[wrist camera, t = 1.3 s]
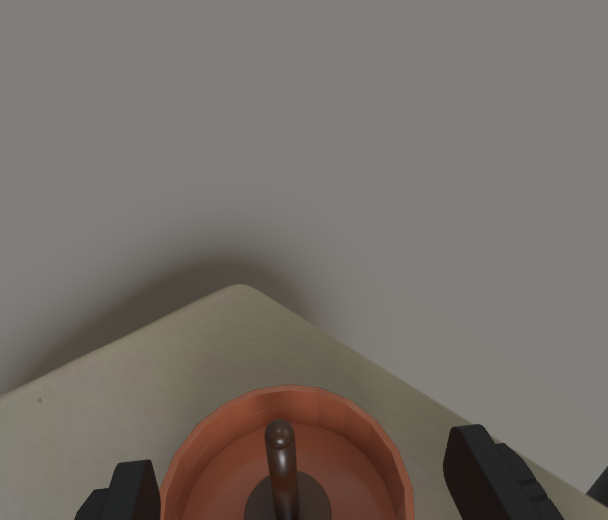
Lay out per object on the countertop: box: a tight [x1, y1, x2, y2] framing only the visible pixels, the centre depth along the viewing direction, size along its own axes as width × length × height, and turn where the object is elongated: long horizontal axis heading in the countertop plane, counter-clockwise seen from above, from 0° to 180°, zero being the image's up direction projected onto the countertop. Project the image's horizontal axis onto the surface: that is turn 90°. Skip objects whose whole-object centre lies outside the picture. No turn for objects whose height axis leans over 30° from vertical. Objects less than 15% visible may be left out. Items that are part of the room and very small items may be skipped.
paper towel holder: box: [244, 419, 331, 520], centre depth 27 cm, size 6×6×12 cm
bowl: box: [159, 385, 415, 520], centre depth 29 cm, size 17×17×6 cm
